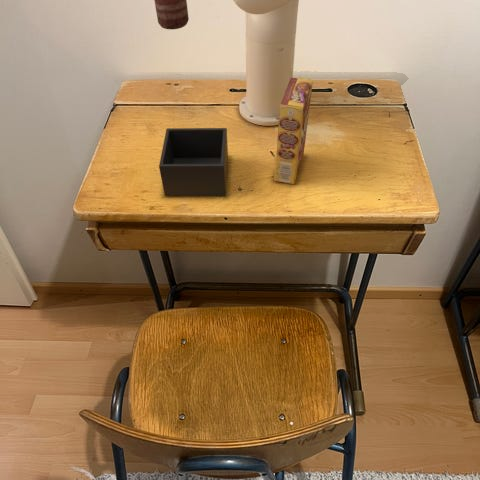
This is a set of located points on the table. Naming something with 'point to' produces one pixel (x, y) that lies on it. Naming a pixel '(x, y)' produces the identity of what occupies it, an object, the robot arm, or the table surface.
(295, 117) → the candy box
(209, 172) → the bin
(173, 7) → the can
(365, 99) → the table surface
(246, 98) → the robot arm
